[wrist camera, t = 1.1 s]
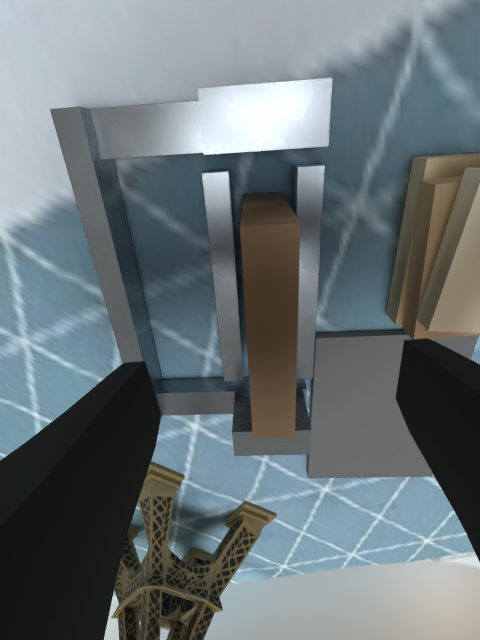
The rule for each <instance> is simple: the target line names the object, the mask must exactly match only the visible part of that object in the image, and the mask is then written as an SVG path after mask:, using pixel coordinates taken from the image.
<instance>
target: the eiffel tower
mask: <svg viewBox="0 0 480 640" xmlns="http://www.w3.org/2000/svg"><path fill="white" fill-rule="evenodd" d="M184 476H185V475H183V474H180V473H178V472H175V471H173V470H171V469H168V468H166V467H163V466H161V465H159V464H156V463H154V462H150V465H149V469H148V472H147V475H146V478H145V481H144V484H143V487H142V490H141V493H140V496H139V499H138V501H139V506H140V510H141V514H142V518H143V523H144V527H145V531H146V535H147V540H148V544H149V549H148V552H147V554H146V556H145V557H144V559H143V561H142V563H141V564H140V561H139V558H138V555H137V552H136V549H135V546H134V543H133V539H134V538H135V537H136V536H137V533H138V530H139V528H138V527H136V526H133V525H130V527H129V530H128V534H127V537H126V541H125V544H124V548H123V552H122V557H121V561H120V565H119V570H118V574H117V578H116V583H115V587H114V590H115V593H116V596H117V599H118V602H119V606H118V607H117V609H116V611H115V613H114V614H113V616H112V618H118V625H119V640H160V628H164V629H167V630H170V632H169V634H168V637H167V640H204V637H205V634H206V632H207V630H208V627H209V625H210V623H211V620H212V618H213V616H214V613H215V612H219V611H222V610H223V609H222V605H221V602H220V598H219V596H220V595H221V593H222V592H223V590H224V589H225V587H226V586H227V584H228V583H229V581H230V580H231V578H232V577H233V575H234V574H235V572H236V571H237V570H238V568H239V566H240V565H241V563H242V562H243V560H244V559H245V557H246V556H247V554H248V553H249V551H250V550H251V548H252V547H253V545H254V544H255V542H256V540H257V539H258V537H259V536H260V533H261V530H262V528H263V527H264V526H266V525H267V524H268V523H269V522H271V521H272V520H273V519H274V518H275V517H276V513H274V512H271V511H269V510H267V509H264V508H262V507H259V506H257V505H255V504H252V503H250V502H247V501H245V502H244V503H243V504H242V505H241V506H239V507H238V508H237V509H236V510H235V511H234V512H233V513H232V514H231V515H230V516H229V517H228V518H226V527H229V528H230V529H229V531H228V532H227V534H226V535H225V537H224V539H223V540H222V542H221V543H220V545H219V546H218V548H217V549H216V551H215V552H214V554H211V553H208V552H205V551H202V550H199V549H197V548H194V549H193V550H192V551H191V552H190V553H189V554H187V555H186V556H185V557H184V558H183V559H182V560H180V559H179V558H178V557H177V556H176V555H175V554H174V553H173V552H172V551H171V550H170V549H169V548H168V547H167V544H168V537H169V530H170V523H171V515H172V508H173V501H174V493H175V492H176V491H177V489H178V488H179V487H180V485H181V482H182V480H183V479H184ZM139 622H141V627H140V624H139Z"/></svg>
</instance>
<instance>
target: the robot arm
mask: <svg viewBox="0 0 480 640" xmlns="http://www.w3.org/2000/svg"><path fill="white" fill-rule="evenodd" d="M396 400H397V403H398V405H399V408H400V411H401V413H402V416H403V418H404V420H405V423H406V425H407V427H408V430H409V432H410V434H411V436H412V437H413V439H414V441H415V443H416V445H417V446H418V448H419V450H420V452H421V453H422V455H423V457H424V459H425V460H426V462H427V464H428V466H429V467H430V469H431V471H432V473H433V474H434V476H435V478H436V480H437V481H438V483H439V485H440V487H441V488H442V490H443V492H444V493H445V495H446V497H447V499H448V500H449V502H450V504H451V506H452V507H453V509H454V511H455V513H456V514H457V516H458V518H459V520H460V522H461V524H462V526H463V528H464V530H465V532H466V533H467V536H468V538H469V540H470V542H471V544H472V546H473V549H474V551H475V553H476V555H477V557H478V559H479V562H480V365H479V364H478V363H476V362H474V361H472V360H470V359H468V358H466V357H464V356H463V355H461V354H459V353H457V352H455V351H453V350H451V349H449V348H447V347H445V346H443V345H441V344H439V343H437V342H435V341H433V340H431V339H428V338H423V339H411V340H404V344H403V351H402V358H401V364H400V371H399V378H398V385H397V392H396ZM160 419H161V411H160V408H159V405H158V401H157V398H156V395H155V391H154V388H153V385H152V382H151V378H150V375H149V372H148V368H147V365H146V362H145V361H138V362H126V363H123V364H122V365H121V366H119V367H118V368H117V369H116V370H114V371H113V372H112V373H111V374H109V375H108V376H107V377H106V378H105V379H103V380H102V381H101V382H100V383H99V384H98V385H96V386H95V387H94V388H93V389H92V390H91V391H89V392H88V393H87V394H86V395H85V396H83V397H82V398H81V399H80V400H79V401H77V402H76V403H75V404H74V405H73V406H71V407H70V408H69V409H68V410H67V411H65V412H64V413H63V414H62V415H60V416H59V417H58V418H57V419H55V420H54V421H53V422H51V423H50V424H49V425H48V426H46V427H45V428H44V429H43V430H41V431H40V432H39V433H37V434H36V435H35V436H34V437H32V438H31V439H30V440H28V441H27V442H26V443H24V444H23V445H22V446H20V447H19V448H18V449H16V450H15V451H13V452H12V453H11V454H9V455H8V456H6V457H5V458H3V459H2V460H1V461H0V640H104V635H105V630H106V625H107V621H108V616H109V611H110V606H111V601H112V596H113V592H114V587H115V583H116V578H117V574H118V570H119V565H120V561H121V557H122V552H123V548H124V544H125V541H126V537H127V534H128V530H129V527H130V524H131V521H132V518H133V514H134V511H135V508H136V505H137V502H138V499H139V496H140V493H141V490H142V487H143V484H144V481H145V478H146V475H147V472H148V469H149V465H150V462H151V459H152V456H153V453H154V449H155V446H156V441H157V436H158V431H159V425H160Z"/></svg>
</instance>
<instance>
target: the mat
mask: <svg viewBox="0 0 480 640" xmlns="http://www.w3.org/2000/svg"><path fill="white" fill-rule="evenodd" d="M478 336H479V335H472V336H462V337H451V338H440V339H431V340H433V341H435V342H437V343H439V344H441V345H443V346H445V347H447V348H449V349H451V350H453V351H455V352H457V353H459V354H461V355H463V356H464V357H466V358H468V359H470V360H471V357H472V354H473V351H474V348H475V345H476V342H477V339H478ZM404 340H411V337H410V336H409V335H408V334H407V333H406V331H405V330H383V331H357V332H332V333H315V348H314V365H313V378H312V387H311V405H310V426H311V445H310V454H308V460H307V475H308V478H360V477H423V476H432V471H431V469H430V467H429V466H428V464H427V462H426V460H425V459H424V457H423V455H422V453H421V452H420V450H419V448H418V446H417V445H416V443H415V441H414V439H413V437H412V436H411V434H410V432H409V430H408V427H407V425H406V423H405V420H404V418H403V416H402V413H401V411H400V408H399V405H398V403H397V400H396V392H397V385H398V378H399V371H400V364H401V358H402V351H403V344H404Z"/></svg>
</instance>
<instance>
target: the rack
mask: <svg viewBox="0 0 480 640" xmlns="http://www.w3.org/2000/svg"><path fill="white" fill-rule="evenodd" d="M331 92H332V78H322V79H310V80H297V81H285V82H272V83H259V84H247V85H234V86H221V87H209V88H197V93H198V101H185V102H172V103H159V104H147V105H134V106H121V107H108V108H95V109H88V108H83V107H71V108H58V109H50V111H51V115H52V118H53V122H54V125H55V128H56V132H57V135H58V139H59V142H60V146H61V149H62V153H63V156H64V160H65V163H66V167H67V170H68V174H69V177H70V181H71V184H72V188H73V191H74V195H75V198H76V202H77V205H78V209H79V212H80V216H81V219H82V223H83V226H84V230H85V233H86V237H87V240H88V244H89V247H90V251H91V254H92V258H93V261H94V265H95V268H96V272H97V275H98V279H99V282H100V286H101V289H102V293H103V296H104V300H105V303H106V307H107V310H108V314H109V317H110V321H111V324H112V328H113V331H114V335H115V338H116V342H117V345H118V349H119V352H120V356H121V359H122V363H126V362H138V361H145V362H146V365H147V368H148V372H149V375H150V378H151V382H152V385H153V388H154V391H155V395H156V398H157V401H158V405H159V408H160V411H161V418H162V415H196V414H233V428H232V435H233V445H234V454H235V456H250V455H300V454H310V445H311V426H310V422H309V417H308V412H307V407H306V385H305V381H304V379H310V378H313V365H314V348H315V330H316V312H317V295H318V277H319V259H320V242H321V224H322V206H323V188H324V171H325V165H322V164H319V163H318V164H303V165H294V189H293V211H294V213H295V215H296V216H297V218H298V219H299V221H300V223H301V227H300V265H299V303H298V341H297V379H296V417H295V438H253V434H252V417H251V401H250V384H249V377H243V372H244V365H243V350H242V336H241V321H240V307H239V293H238V278H237V264H236V250H235V235H234V221H233V206H232V192H231V178H230V169H227V170H211V171H205V172H203V173H202V179H203V188H204V197H205V207H206V216H207V225H208V235H209V244H210V253H211V263H212V272H213V281H214V290H215V300H216V309H217V318H218V328H219V337H220V346H221V356H222V365H223V374H224V377H221V378H190V379H162V375H161V371H160V366H159V362H158V357H157V353H156V348H155V344H154V339H153V335H152V330H151V326H150V321H149V317H148V312H147V308H146V303H145V298H144V294H143V289H142V285H141V280H140V276H139V271H138V267H137V262H136V258H135V253H134V249H133V244H132V240H131V235H130V231H129V226H128V222H127V217H126V213H125V208H124V204H123V199H122V195H121V190H120V186H119V181H118V177H117V172H116V167H115V163H114V159H116V158H131V157H145V156H160V155H174V154H189V153H204V155H208V154H223V153H237V152H252V151H267V150H281V149H296V148H310V147H325V146H328V143H329V126H330V109H331ZM160 421H161V419H160Z"/></svg>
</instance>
